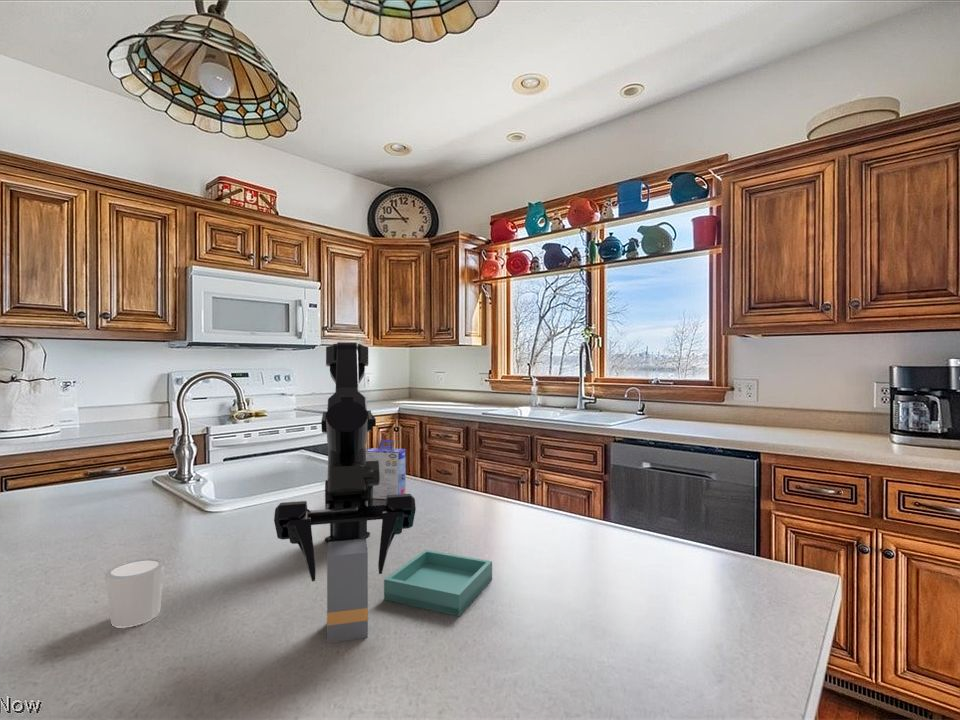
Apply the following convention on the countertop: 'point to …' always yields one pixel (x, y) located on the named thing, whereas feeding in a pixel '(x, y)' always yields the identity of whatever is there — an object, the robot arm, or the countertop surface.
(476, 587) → the tray
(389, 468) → the ink cartridge box
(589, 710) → the countertop surface
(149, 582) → the white cup
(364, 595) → the gray rectangular block
